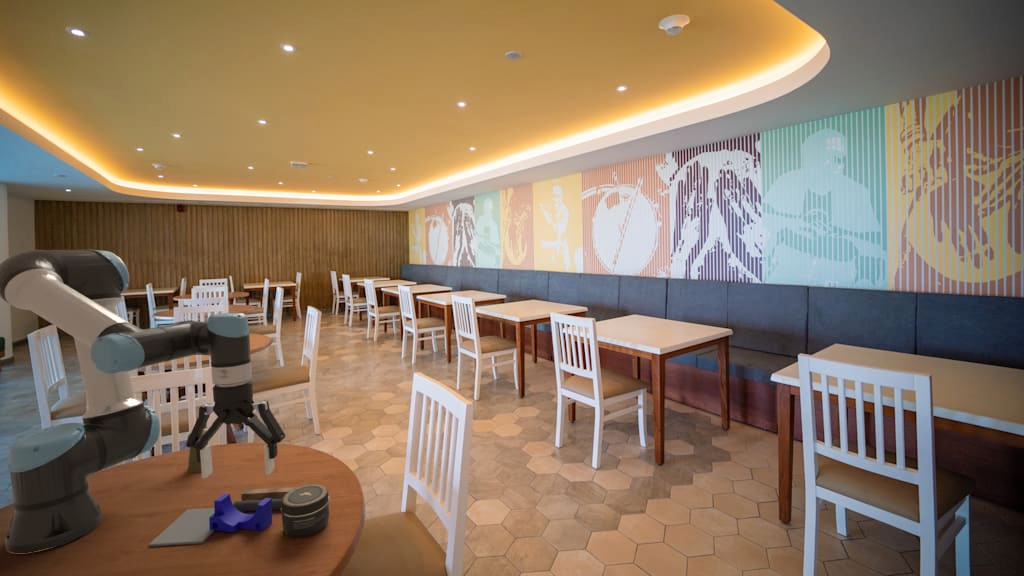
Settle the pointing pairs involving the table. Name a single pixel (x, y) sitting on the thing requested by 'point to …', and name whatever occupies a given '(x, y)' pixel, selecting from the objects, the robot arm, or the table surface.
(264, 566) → the table surface
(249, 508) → the rod
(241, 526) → the cable clip
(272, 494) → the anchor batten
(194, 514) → the mat
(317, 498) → the jar
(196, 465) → the cork
